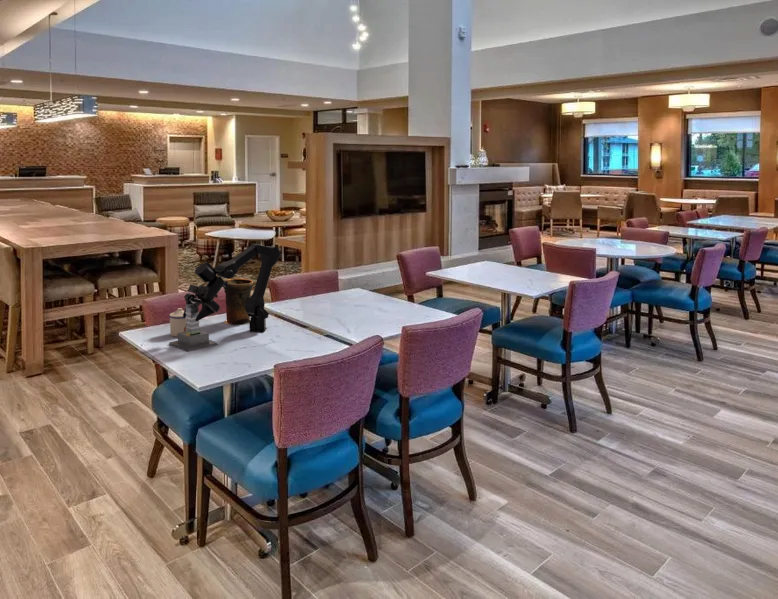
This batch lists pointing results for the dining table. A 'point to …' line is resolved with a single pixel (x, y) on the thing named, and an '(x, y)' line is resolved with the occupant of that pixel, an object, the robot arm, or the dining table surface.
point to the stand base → (193, 341)
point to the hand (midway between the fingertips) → (189, 318)
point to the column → (192, 318)
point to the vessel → (237, 300)
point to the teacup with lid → (177, 322)
